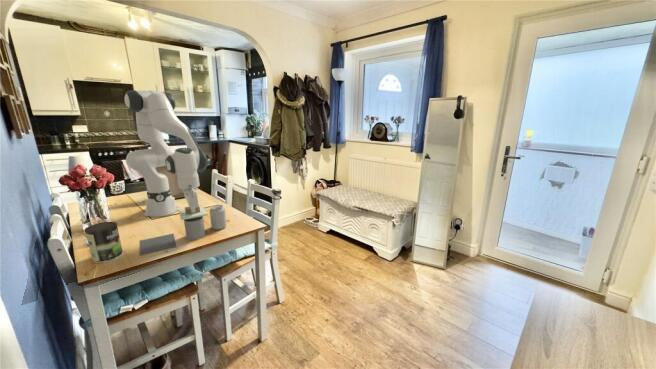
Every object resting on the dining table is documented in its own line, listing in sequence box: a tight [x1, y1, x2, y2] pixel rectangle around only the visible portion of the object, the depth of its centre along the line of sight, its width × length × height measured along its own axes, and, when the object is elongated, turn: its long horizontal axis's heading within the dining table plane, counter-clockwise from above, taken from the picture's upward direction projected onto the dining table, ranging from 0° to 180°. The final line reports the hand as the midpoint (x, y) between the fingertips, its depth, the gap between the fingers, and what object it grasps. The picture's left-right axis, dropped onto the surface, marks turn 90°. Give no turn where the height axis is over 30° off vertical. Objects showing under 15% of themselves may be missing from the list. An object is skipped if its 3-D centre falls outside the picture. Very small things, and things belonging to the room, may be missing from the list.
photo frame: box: [156, 166, 185, 199], centre depth 181 cm, size 15×22×25 cm
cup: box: [183, 216, 206, 241], centre depth 128 cm, size 8×8×10 cm
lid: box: [178, 205, 208, 221], centre depth 126 cm, size 11×11×3 cm
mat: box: [138, 233, 178, 257], centre depth 122 cm, size 16×14×1 cm
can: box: [209, 204, 227, 231], centre depth 139 cm, size 8×8×12 cm
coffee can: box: [84, 221, 124, 264], centre depth 109 cm, size 10×10×14 cm
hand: (192, 210), depth 126 cm, fingers closed on lid, 3 cm apart
